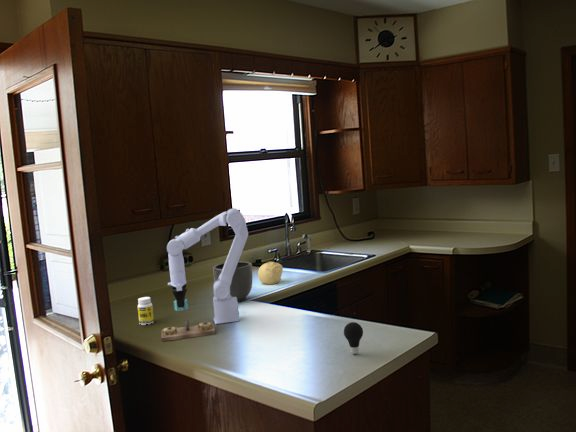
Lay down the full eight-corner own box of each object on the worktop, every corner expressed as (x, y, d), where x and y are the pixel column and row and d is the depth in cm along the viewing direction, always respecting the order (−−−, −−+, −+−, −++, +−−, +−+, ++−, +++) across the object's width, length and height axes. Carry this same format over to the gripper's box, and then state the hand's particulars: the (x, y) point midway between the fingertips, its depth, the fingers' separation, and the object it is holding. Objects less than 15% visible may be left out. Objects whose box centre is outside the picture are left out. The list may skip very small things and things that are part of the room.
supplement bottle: (139, 326, 217) (136, 300, 216) (139, 322, 222) (136, 297, 221) (154, 323, 218) (151, 298, 217) (154, 320, 224) (151, 295, 223)
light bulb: (362, 350, 171) (360, 319, 169) (366, 357, 165) (363, 324, 164) (344, 351, 170) (341, 320, 169) (346, 358, 165) (344, 326, 163)
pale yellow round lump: (275, 286, 265) (273, 264, 264) (254, 285, 272) (252, 263, 270) (287, 280, 275) (285, 259, 274) (266, 279, 281) (265, 259, 280)
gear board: (212, 325, 209) (211, 313, 208) (215, 333, 199) (213, 320, 199) (161, 333, 205) (160, 320, 204) (161, 341, 195) (160, 328, 195)
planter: (210, 306, 238) (206, 270, 237) (224, 295, 255) (220, 261, 253) (247, 305, 234) (244, 268, 233) (259, 295, 251) (256, 260, 249)
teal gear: (188, 306, 215) (187, 298, 215) (188, 309, 210) (187, 301, 209) (174, 308, 214) (173, 300, 213) (174, 311, 209) (173, 303, 208)
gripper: (166, 268, 216) (170, 302, 218) (166, 275, 202) (170, 311, 204) (184, 266, 218) (188, 299, 219) (186, 273, 204) (189, 308, 205)
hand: (180, 305), depth 212 cm, fingers closed on teal gear, 5 cm apart
